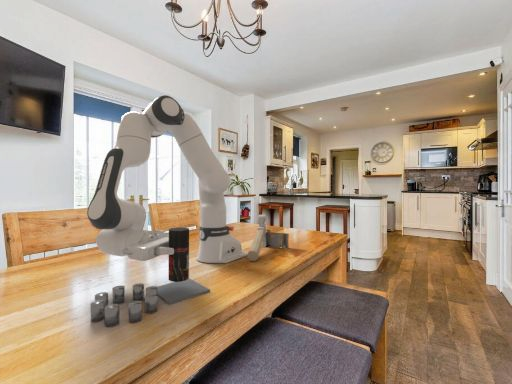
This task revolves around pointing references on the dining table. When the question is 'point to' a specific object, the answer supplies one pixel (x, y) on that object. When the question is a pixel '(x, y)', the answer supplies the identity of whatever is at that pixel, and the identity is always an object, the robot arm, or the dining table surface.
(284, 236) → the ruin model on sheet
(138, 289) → the grey upright cylinders
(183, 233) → the deodorant
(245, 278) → the dining table surface
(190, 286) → the slate mat
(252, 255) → the hammer
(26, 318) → the dining table surface
